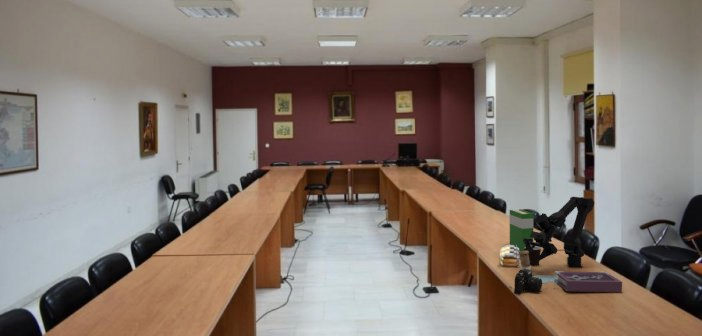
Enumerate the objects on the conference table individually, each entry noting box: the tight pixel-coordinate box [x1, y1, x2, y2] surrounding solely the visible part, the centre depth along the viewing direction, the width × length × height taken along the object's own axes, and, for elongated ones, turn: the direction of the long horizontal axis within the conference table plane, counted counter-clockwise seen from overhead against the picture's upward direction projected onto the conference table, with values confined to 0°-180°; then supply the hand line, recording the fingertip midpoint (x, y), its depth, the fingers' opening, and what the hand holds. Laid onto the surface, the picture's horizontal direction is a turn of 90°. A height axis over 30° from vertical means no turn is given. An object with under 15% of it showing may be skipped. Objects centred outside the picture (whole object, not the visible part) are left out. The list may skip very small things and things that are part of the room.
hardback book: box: [509, 209, 534, 252], centre depth 322 cm, size 18×7×24 cm, turn 7°
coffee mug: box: [524, 246, 542, 267], centre depth 285 cm, size 12×9×10 cm
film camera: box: [513, 268, 543, 295], centre depth 242 cm, size 18×12×10 cm
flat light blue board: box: [532, 274, 558, 285], centre depth 256 cm, size 14×14×1 cm
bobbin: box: [519, 251, 535, 276], centre depth 264 cm, size 7×7×12 cm
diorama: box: [499, 244, 520, 268], centre depth 291 cm, size 25×10×13 cm, turn 162°
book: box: [554, 270, 623, 293], centre depth 243 cm, size 25×16×5 cm, turn 88°
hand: (531, 258), depth 264 cm, fingers open, 9 cm apart
